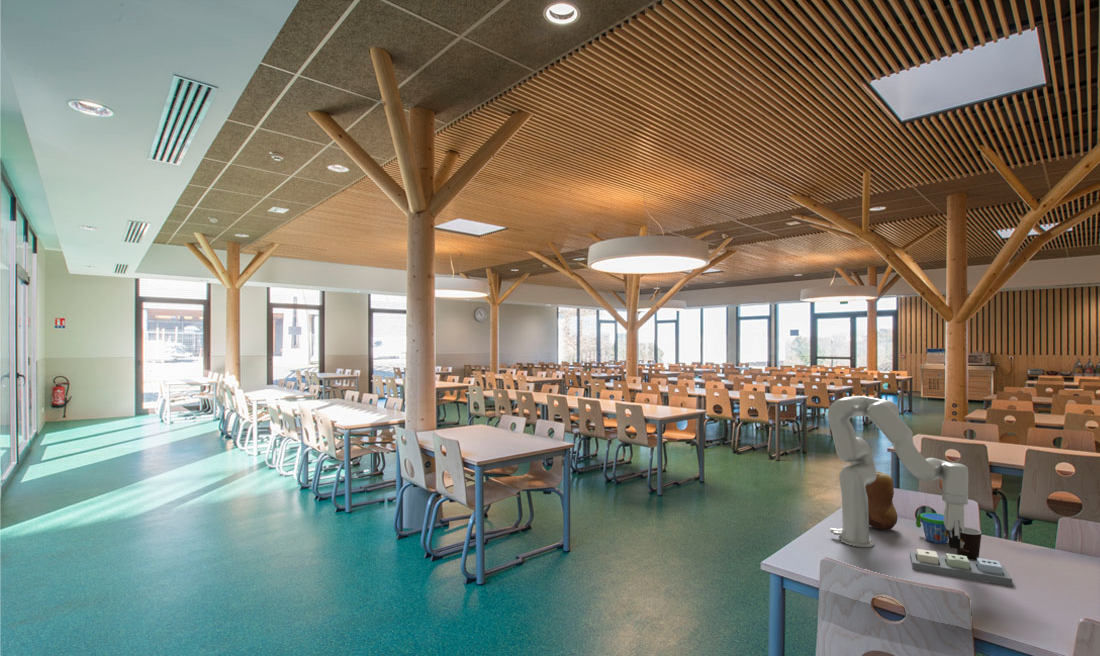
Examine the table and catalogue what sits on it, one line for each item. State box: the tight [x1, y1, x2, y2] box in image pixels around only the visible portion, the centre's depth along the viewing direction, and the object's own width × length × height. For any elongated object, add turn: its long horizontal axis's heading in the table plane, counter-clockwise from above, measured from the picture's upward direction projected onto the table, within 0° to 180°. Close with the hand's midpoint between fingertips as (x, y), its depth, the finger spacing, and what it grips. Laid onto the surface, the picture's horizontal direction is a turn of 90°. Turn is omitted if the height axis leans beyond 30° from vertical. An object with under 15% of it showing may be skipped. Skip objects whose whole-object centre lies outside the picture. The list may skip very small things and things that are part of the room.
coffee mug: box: [947, 526, 982, 561], centre depth 206 cm, size 12×9×10 cm
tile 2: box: [976, 557, 1003, 575], centre depth 187 cm, size 6×6×4 cm
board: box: [909, 550, 1013, 587], centre depth 192 cm, size 28×12×2 cm, turn 60°
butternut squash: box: [865, 470, 898, 532], centre depth 236 cm, size 14×13×25 cm
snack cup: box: [915, 512, 949, 545], centre depth 220 cm, size 16×10×10 cm
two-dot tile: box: [945, 553, 970, 569], centre depth 192 cm, size 6×6×4 cm
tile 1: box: [916, 548, 939, 564], centre depth 196 cm, size 6×6×4 cm
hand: (954, 547), depth 193 cm, fingers closed
